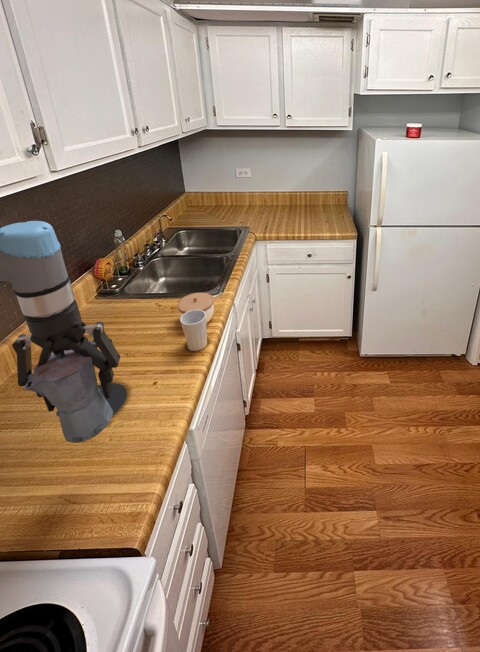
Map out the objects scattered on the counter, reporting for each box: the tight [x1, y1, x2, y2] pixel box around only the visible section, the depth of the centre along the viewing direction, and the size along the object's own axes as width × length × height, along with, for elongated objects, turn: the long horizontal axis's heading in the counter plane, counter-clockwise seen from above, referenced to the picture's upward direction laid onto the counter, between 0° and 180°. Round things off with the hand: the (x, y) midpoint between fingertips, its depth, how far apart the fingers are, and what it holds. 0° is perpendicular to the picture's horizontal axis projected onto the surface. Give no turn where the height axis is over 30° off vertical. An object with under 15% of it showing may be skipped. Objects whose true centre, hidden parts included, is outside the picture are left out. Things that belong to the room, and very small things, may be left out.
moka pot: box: [23, 338, 114, 444], centre depth 66 cm, size 10×15×20 cm, turn 157°
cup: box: [179, 310, 208, 352], centre depth 110 cm, size 8×8×12 cm
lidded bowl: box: [177, 292, 215, 324], centre depth 123 cm, size 13×13×11 cm
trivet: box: [98, 382, 128, 417], centre depth 90 cm, size 14×14×1 cm
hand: (82, 399), depth 68 cm, fingers closed on moka pot, 9 cm apart
